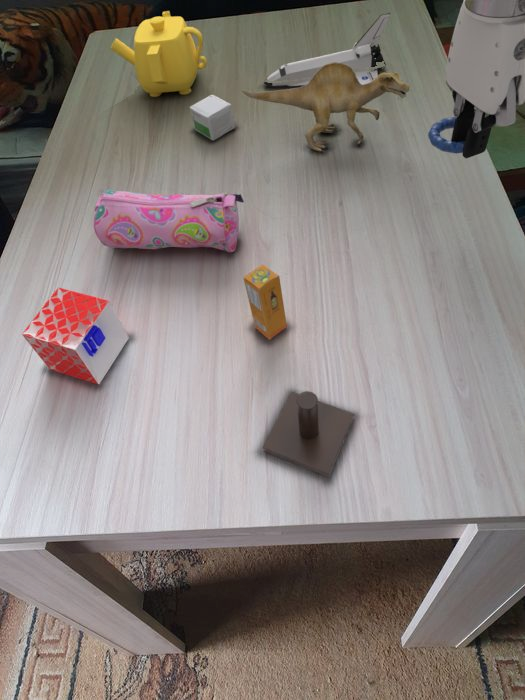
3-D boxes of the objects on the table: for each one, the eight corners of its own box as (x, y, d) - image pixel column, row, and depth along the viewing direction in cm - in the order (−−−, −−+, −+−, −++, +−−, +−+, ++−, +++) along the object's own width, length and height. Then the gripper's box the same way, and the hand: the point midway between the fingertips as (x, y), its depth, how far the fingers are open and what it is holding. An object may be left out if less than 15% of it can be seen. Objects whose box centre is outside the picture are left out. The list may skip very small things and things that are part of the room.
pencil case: (248, 223, 83) (240, 174, 76) (238, 265, 78) (228, 217, 70) (121, 221, 87) (101, 174, 79) (103, 260, 81) (81, 215, 74)
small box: (194, 130, 100) (188, 106, 96) (217, 117, 101) (212, 92, 97) (212, 142, 97) (207, 117, 93) (236, 128, 99) (232, 103, 95)
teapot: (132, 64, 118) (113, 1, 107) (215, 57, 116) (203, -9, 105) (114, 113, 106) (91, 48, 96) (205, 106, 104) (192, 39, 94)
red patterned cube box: (81, 324, 74) (58, 287, 68) (129, 337, 72) (109, 300, 65) (49, 370, 70) (21, 334, 64) (98, 385, 68) (74, 350, 61)
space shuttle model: (260, 67, 111) (254, 16, 103) (376, 49, 110) (380, -5, 102) (268, 106, 102) (263, 53, 94) (395, 86, 101) (401, 31, 93)
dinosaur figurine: (402, 146, 90) (412, 68, 79) (250, 157, 93) (240, 83, 82) (397, 121, 95) (406, 44, 84) (252, 132, 97) (242, 59, 86)
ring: (489, 129, 72) (491, 119, 71) (476, 159, 68) (478, 149, 67) (436, 121, 74) (438, 111, 73) (421, 149, 71) (422, 140, 70)
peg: (354, 417, 61) (357, 382, 55) (328, 477, 58) (328, 446, 51) (291, 395, 64) (287, 358, 58) (263, 451, 60) (255, 418, 54)
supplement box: (271, 313, 72) (263, 261, 64) (287, 327, 70) (282, 276, 62) (252, 327, 71) (242, 275, 63) (268, 341, 69) (260, 291, 61)
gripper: (588, 9, 51) (531, 171, 66) (487, -39, 60) (456, 113, 75) (523, 30, 50) (479, 190, 65) (429, -22, 59) (410, 129, 74)
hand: (467, 148), depth 70 cm, fingers closed on ring
